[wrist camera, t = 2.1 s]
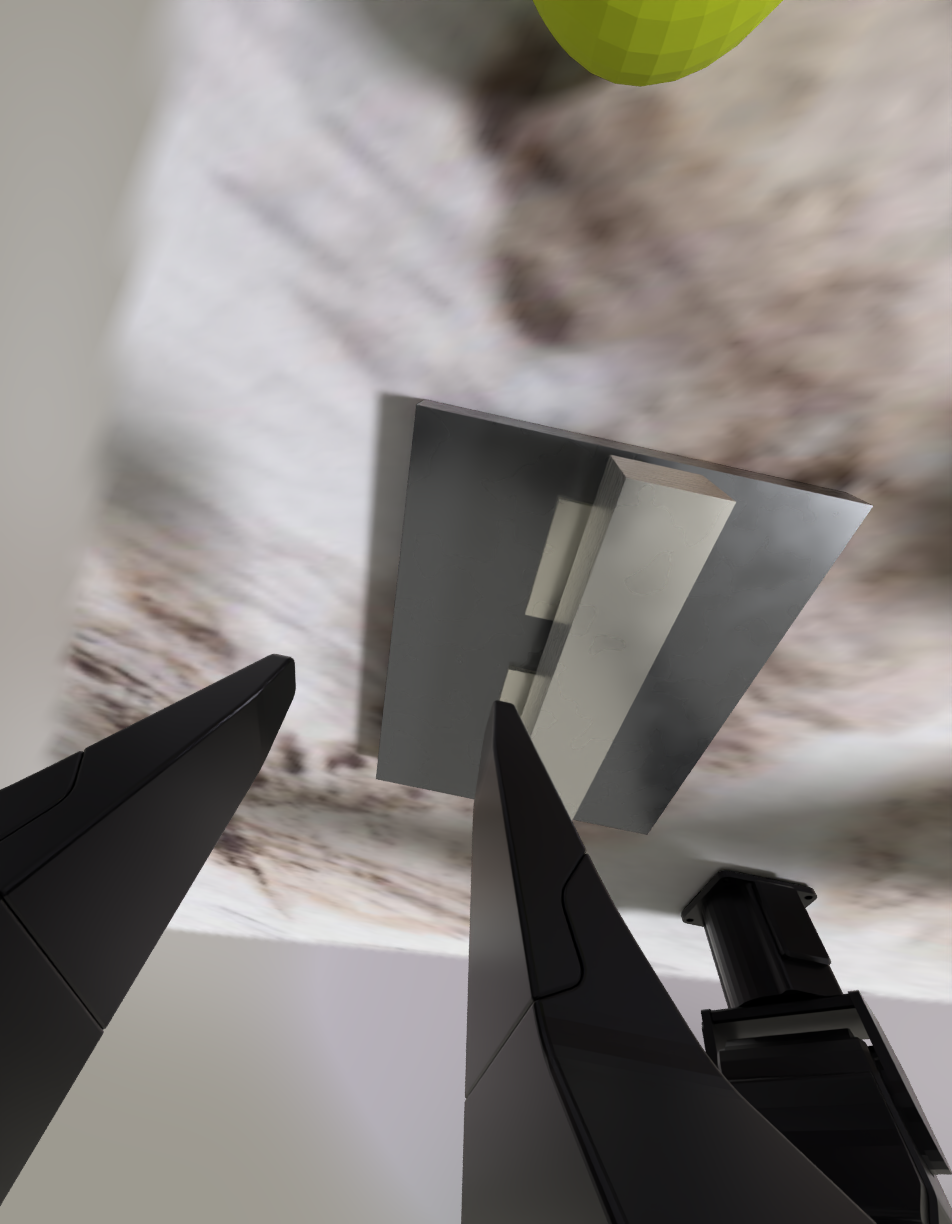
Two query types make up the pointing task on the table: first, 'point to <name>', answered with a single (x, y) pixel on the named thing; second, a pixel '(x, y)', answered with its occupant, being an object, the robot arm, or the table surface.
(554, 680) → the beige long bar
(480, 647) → the panel
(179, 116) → the table surface
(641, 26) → the tennis ball
